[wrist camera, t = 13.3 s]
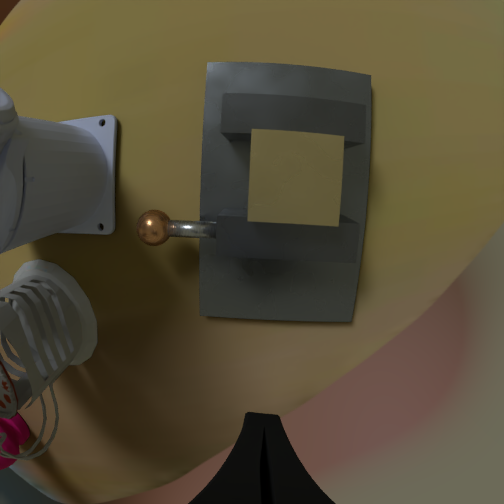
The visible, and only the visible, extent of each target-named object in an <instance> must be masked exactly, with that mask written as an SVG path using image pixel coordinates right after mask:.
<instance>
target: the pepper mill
mask: <svg viewBox="0 0 504 504" xmlns="http://www.w3.org/2000/svg"><path fill="white" fill-rule="evenodd" d="M0 433H6V435H7V437H6V439H5V441H4V442H3V444H2V445H1V446H2V448H3V450H4V451H6V452H8V453H10V454H13V455H18V454H20V452H19V445H22V444H24V443H25V441H26V440H27V439H28V438H29V436H30V432H29V429H28V426H27V424H26V423H25V421H24V420H23V419H22V417H21V416H20V415H19V414H18V413H17V415H16V416H15V417H13V418H11V419H6V418H0ZM1 437H2V436H0V439H1ZM0 452H1V451H0ZM1 453H2V452H1ZM16 460H17V459H13V458H5V457H2V456H0V470H1V469H4V468H7V467H9V466H10V465H12V464H13V463H14V462H15V461H16Z"/></svg>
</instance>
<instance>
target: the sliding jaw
mask: <svg viewBox="0 0 504 504" xmlns="http://www.w3.org/2000/svg"><path fill="white" fill-rule="evenodd" d="M247 219H248V209H236V208H225V209H223V210H222V211H221V212H220V213H219V214H218V215H217V222H208V221H181V220H170V218H169V217H168V215H167V214H165V213H164V212H162V211H160V210H149V211H147V212H145V213H144V214H143V215H142V216H141V217H140V218H139V220H138V223H137V234H138V236H139V238H140V239H141V240H142V241H143V242H144V243H145V244H147V245H150V246H158V245H161V244H163V243H165V242H166V241H167V240H168V239H169V237H188V238H210V239H216V256H219V257H238V258H257V259H277V260H297V261H318V262H339V263H356V259H357V251H358V242H359V233H360V224H359V223H358V222H356V221H354V220H352V219H350V218H348V217H346V216H344V215H339V226H338V227H337V226H322V225H306V224H289V223H271V222H252V221H247Z"/></svg>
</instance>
